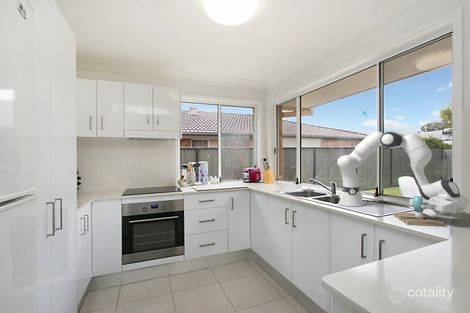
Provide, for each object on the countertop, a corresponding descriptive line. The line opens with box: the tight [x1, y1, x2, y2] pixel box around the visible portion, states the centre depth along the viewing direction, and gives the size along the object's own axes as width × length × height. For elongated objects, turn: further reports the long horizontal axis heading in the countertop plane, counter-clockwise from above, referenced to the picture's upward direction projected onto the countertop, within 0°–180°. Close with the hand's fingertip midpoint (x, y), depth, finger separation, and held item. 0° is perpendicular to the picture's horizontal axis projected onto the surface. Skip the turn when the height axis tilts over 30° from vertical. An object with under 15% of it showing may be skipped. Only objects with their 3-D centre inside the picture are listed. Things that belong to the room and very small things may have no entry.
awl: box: [412, 195, 424, 220], centre depth 123 cm, size 4×4×13 cm
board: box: [392, 211, 446, 227], centre depth 126 cm, size 20×16×2 cm
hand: (417, 205), depth 123 cm, fingers closed on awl, 4 cm apart
